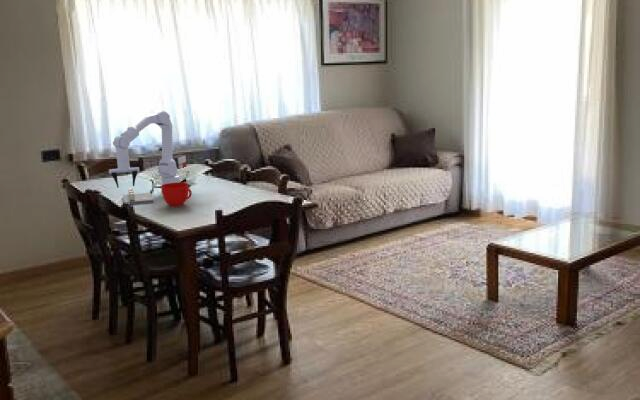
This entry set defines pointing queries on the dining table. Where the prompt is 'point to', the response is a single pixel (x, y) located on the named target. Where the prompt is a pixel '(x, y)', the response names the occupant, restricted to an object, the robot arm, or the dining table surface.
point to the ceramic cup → (175, 193)
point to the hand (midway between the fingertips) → (125, 186)
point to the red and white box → (180, 161)
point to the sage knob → (132, 196)
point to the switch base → (139, 198)
